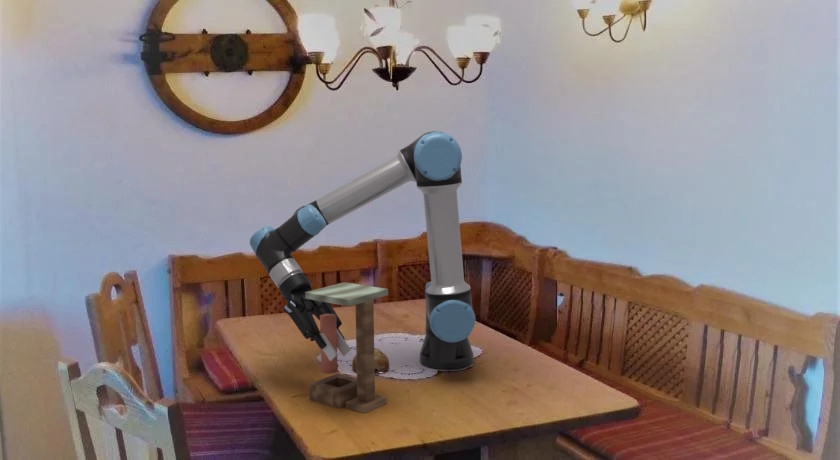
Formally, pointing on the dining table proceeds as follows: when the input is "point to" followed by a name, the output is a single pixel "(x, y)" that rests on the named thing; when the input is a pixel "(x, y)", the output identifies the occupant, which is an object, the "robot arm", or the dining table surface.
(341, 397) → the awning socket
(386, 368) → the bread roll
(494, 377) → the dining table surface
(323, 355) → the peg
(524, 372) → the dining table surface
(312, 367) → the dining table surface
